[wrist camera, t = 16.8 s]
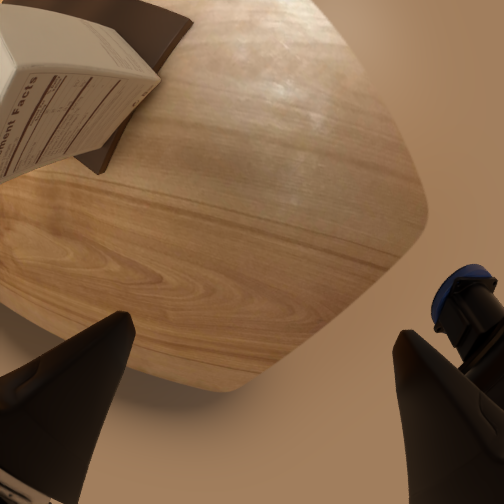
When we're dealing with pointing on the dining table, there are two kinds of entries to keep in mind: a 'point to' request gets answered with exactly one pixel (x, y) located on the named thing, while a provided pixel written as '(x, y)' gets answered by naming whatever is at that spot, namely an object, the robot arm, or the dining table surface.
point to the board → (133, 32)
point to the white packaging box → (62, 87)
